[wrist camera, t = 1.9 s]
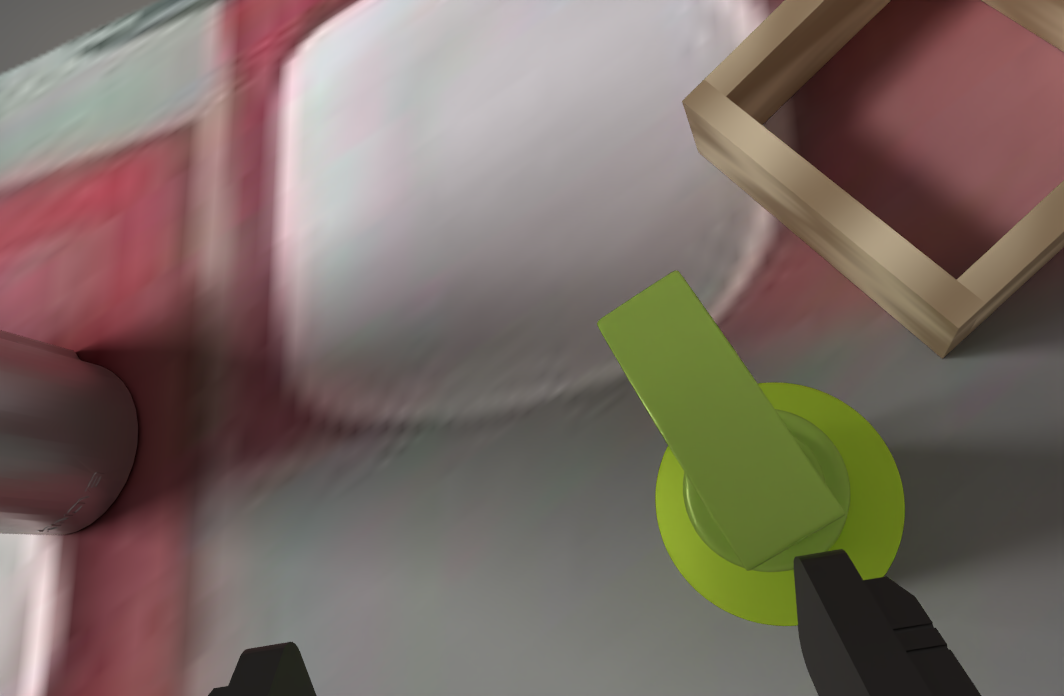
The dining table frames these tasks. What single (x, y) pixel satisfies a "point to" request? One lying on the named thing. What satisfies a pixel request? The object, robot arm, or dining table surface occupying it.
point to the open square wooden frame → (831, 213)
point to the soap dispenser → (750, 461)
